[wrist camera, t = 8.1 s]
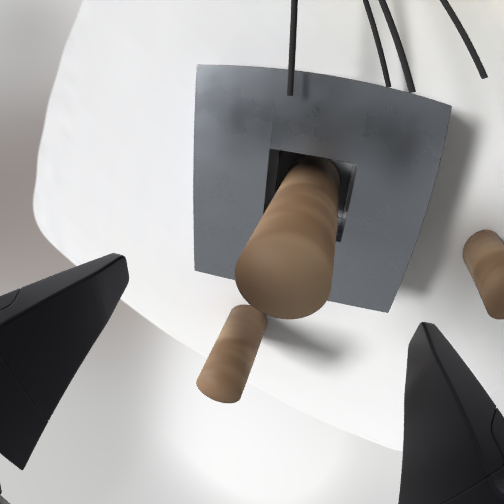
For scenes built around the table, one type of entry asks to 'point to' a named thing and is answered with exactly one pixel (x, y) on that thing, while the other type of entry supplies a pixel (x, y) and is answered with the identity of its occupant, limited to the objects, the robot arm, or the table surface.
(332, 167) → the long dowel
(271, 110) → the hole plate
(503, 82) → the table surface
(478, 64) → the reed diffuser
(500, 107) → the table surface
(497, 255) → the short dowel
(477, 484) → the robot arm
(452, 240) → the table surface
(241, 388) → the medium dowel
